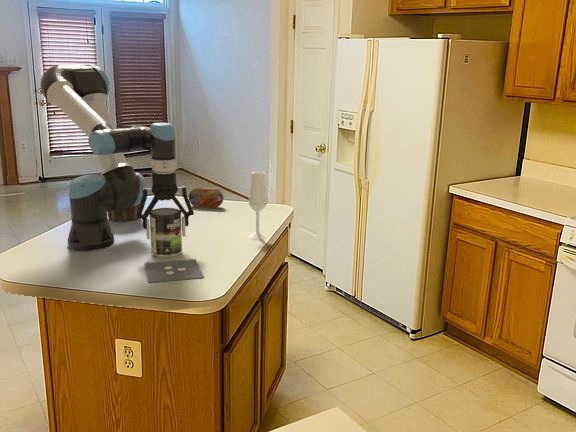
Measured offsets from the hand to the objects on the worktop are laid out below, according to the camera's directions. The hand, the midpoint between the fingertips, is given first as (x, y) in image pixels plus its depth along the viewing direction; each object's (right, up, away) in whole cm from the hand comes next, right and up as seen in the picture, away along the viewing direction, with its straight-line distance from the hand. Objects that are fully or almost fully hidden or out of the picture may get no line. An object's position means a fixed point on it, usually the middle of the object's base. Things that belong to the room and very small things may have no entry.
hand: (166, 236), depth 190 cm
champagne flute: (+29, -1, +19) cm, 35 cm away
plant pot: (-25, +6, +39) cm, 47 cm away
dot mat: (+5, -10, -15) cm, 19 cm away
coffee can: (0, -5, +2) cm, 6 cm away
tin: (+5, +11, +59) cm, 60 cm away
